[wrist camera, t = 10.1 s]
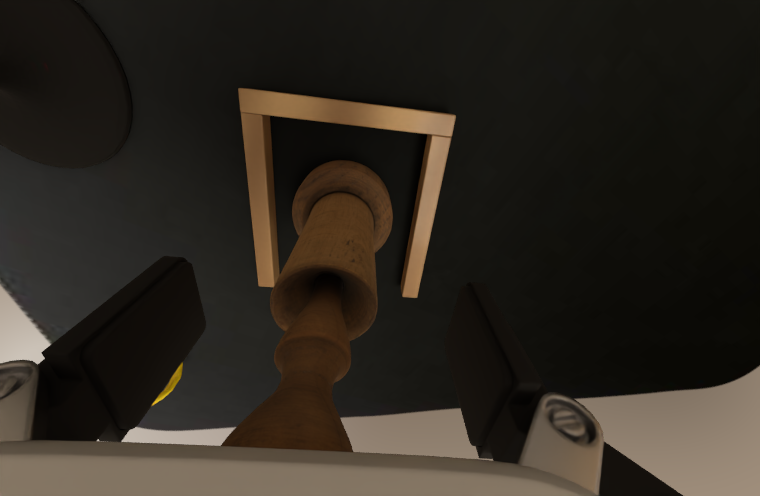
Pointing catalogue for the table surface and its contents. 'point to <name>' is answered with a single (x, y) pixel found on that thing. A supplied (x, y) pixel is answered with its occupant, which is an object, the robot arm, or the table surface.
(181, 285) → the robot arm
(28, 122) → the wine glass
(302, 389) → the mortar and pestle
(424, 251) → the frame
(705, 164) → the table surface
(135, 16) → the table surface
